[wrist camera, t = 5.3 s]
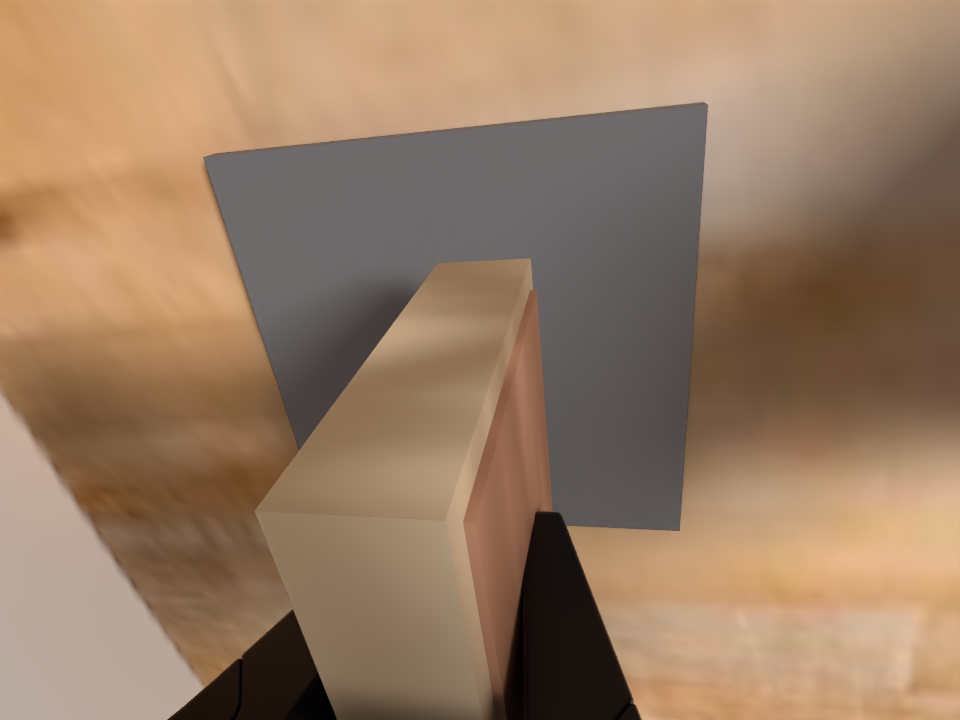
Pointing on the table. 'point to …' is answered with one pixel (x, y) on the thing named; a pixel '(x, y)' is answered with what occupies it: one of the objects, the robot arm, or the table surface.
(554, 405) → the mat
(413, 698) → the picture frame
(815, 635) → the table surface
